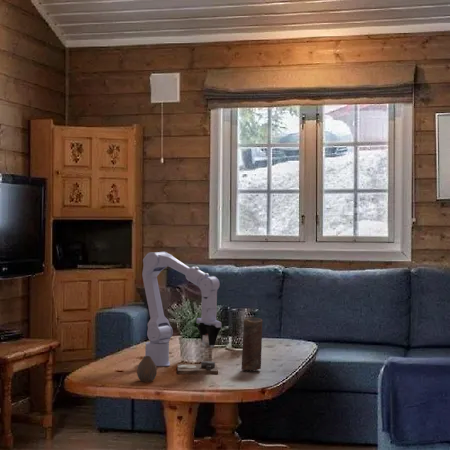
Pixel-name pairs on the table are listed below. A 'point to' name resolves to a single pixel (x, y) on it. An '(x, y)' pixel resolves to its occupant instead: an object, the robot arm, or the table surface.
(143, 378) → the vase
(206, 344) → the knob
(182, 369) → the base board
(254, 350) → the candle
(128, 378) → the table surface
